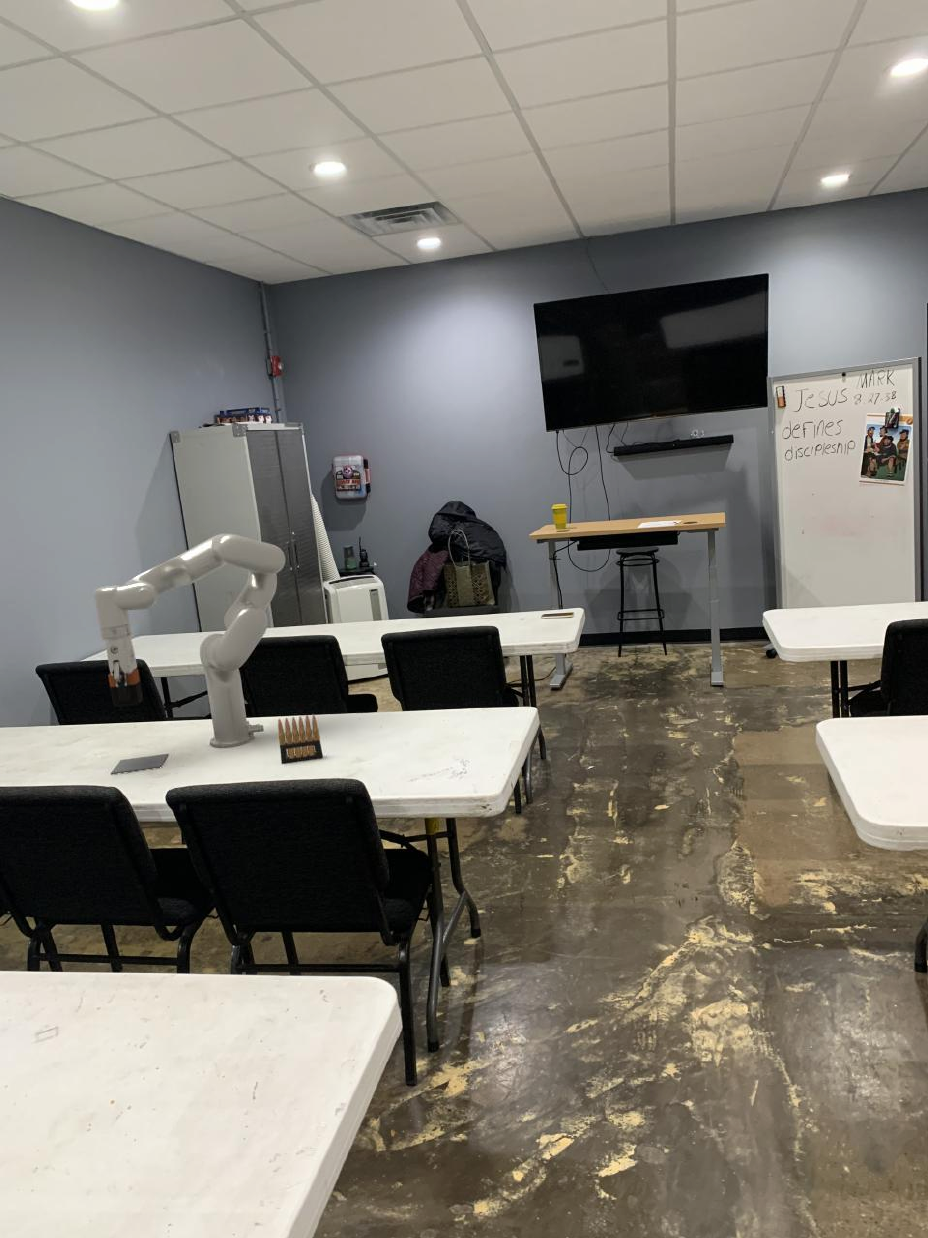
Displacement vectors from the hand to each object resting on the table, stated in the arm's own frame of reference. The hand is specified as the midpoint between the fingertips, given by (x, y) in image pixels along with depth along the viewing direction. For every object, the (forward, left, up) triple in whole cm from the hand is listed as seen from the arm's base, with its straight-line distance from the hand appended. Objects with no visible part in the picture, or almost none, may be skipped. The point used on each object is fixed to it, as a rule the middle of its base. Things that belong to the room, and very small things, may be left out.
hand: (127, 697), depth 233 cm
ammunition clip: (-45, +16, -19) cm, 52 cm away
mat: (0, 0, -19) cm, 19 cm away
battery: (0, 0, -2) cm, 2 cm away
